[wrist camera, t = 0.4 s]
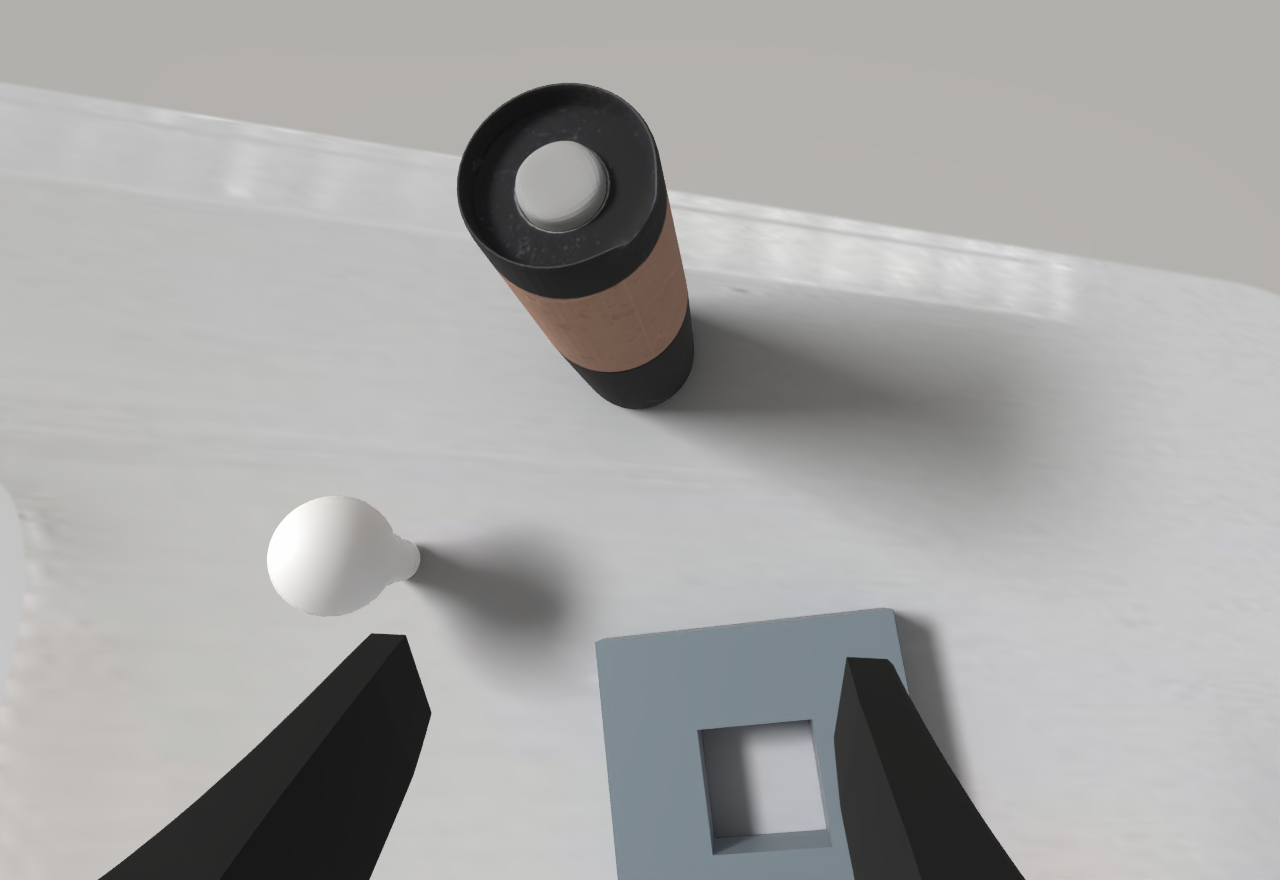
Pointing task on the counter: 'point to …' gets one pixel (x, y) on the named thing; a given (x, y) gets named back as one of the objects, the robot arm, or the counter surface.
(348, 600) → the lightbulb
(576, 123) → the travel mug
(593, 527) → the counter surface
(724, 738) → the counter surface
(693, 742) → the socket block
